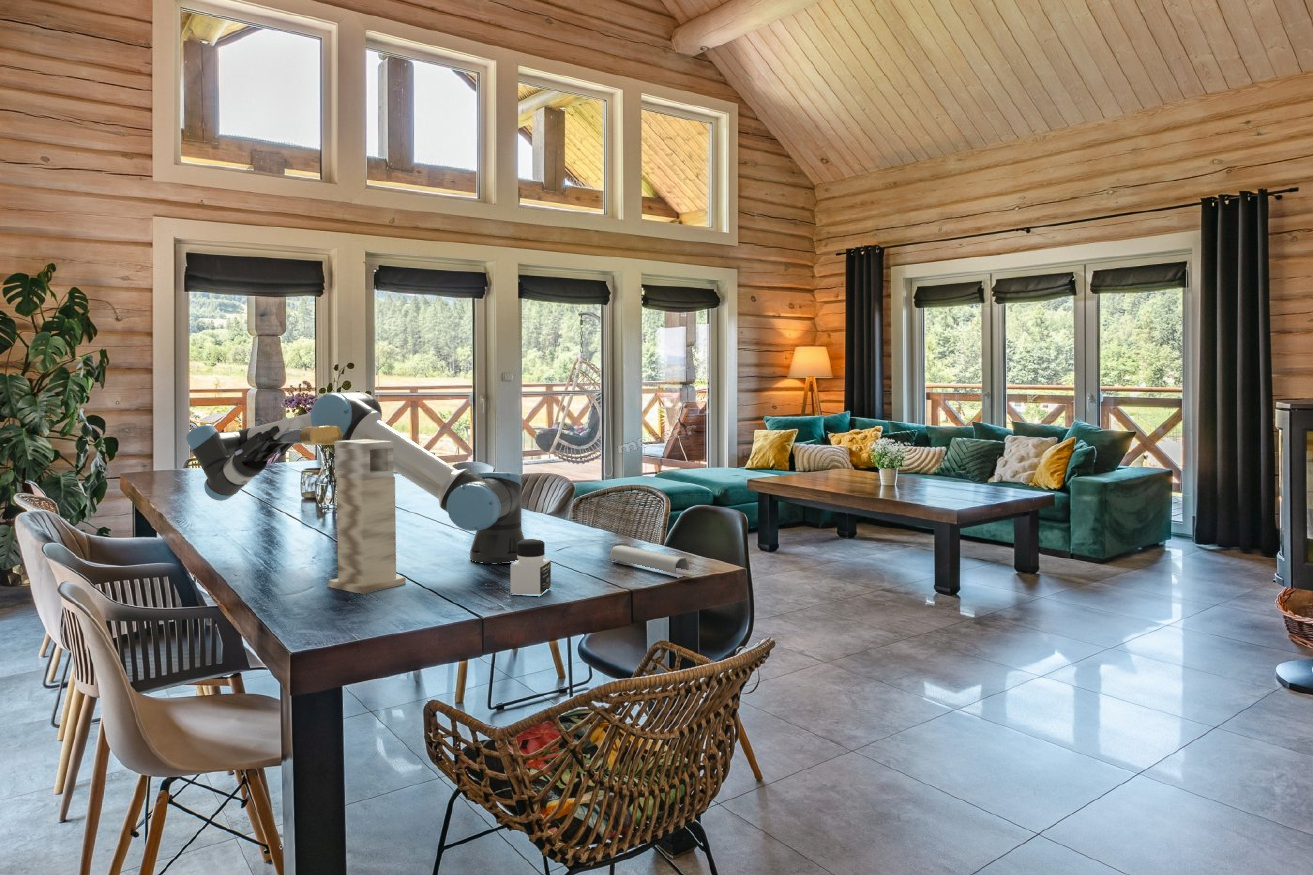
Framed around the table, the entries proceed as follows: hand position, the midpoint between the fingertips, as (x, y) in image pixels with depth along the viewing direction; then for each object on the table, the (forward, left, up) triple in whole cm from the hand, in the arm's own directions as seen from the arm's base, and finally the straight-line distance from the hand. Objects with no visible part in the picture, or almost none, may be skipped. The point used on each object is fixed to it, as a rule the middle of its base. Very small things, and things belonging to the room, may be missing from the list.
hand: (294, 421), depth 214 cm
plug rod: (-2, +1, -6) cm, 6 cm away
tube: (-85, -10, -37) cm, 94 cm away
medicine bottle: (-61, +17, -37) cm, 73 cm away
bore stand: (-22, +13, -37) cm, 45 cm away
